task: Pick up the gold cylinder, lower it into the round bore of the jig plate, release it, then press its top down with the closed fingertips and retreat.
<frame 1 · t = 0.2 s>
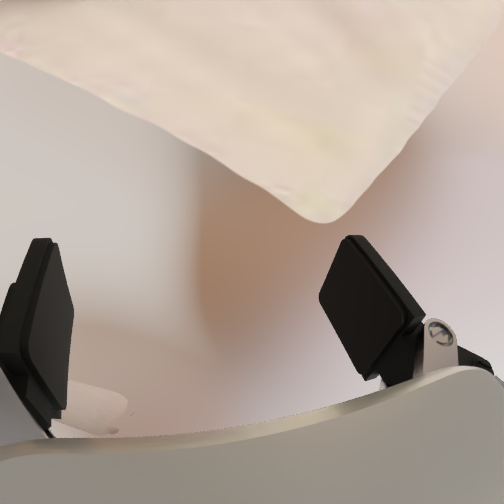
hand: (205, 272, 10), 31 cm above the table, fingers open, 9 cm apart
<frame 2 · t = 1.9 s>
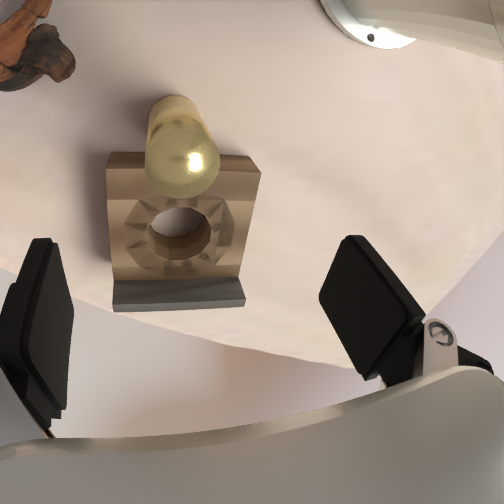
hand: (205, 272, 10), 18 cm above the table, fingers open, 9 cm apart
gold cylinder: (173, 118, 23), on the table
jig: (176, 213, 29), on the table
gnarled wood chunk: (32, 35, 15), on the table
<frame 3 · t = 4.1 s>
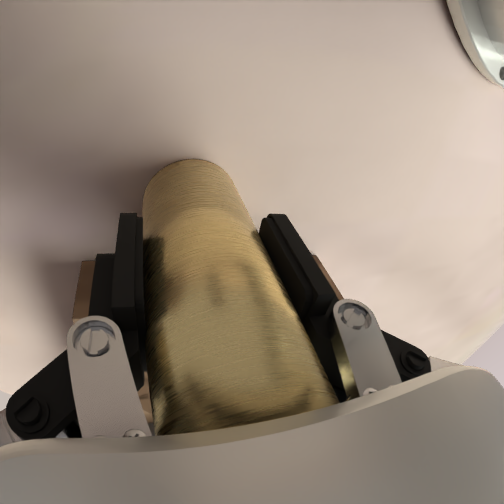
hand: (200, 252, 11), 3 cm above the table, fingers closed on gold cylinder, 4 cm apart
gold cylinder: (190, 203, 13), on the table, touching gripper
jig: (197, 335, 19), on the table
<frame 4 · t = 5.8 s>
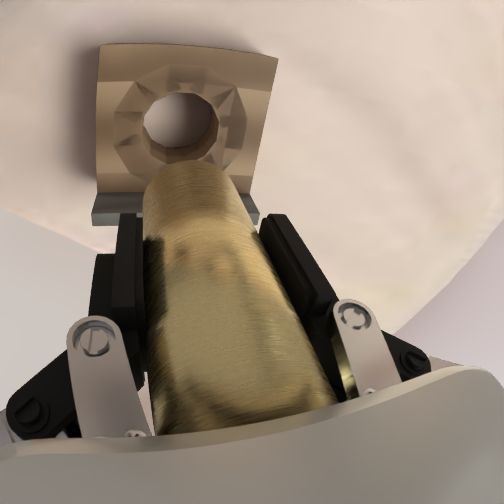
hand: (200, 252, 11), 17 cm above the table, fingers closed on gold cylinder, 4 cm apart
gold cylinder: (190, 204, 13), point 14 cm above the table, touching gripper
jig: (177, 117, 23), on the table
when the fingers open (4 cm above the table, at t = 7.8 s): gold cylinder stays where it is, resting in jig.
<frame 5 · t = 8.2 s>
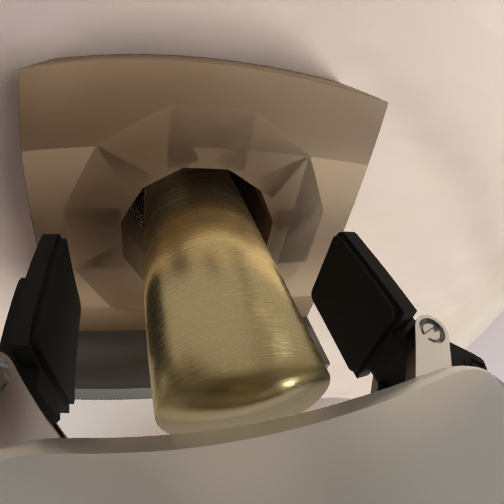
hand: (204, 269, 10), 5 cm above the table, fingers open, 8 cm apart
gold cylinder: (188, 192, 14), resting in jig
jig: (187, 192, 14), on the table
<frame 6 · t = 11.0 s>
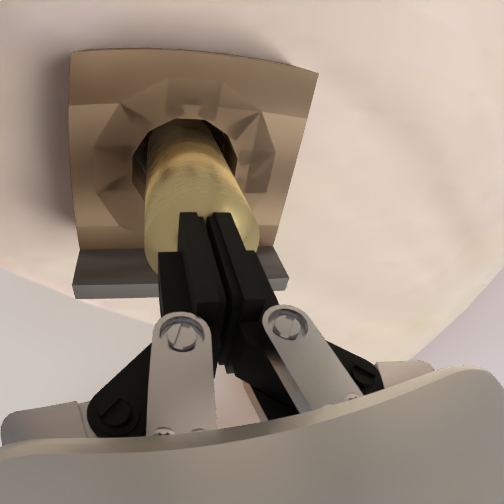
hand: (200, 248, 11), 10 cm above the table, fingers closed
gold cylinder: (180, 146, 18), resting in jig, touching gripper
jig: (179, 146, 18), on the table
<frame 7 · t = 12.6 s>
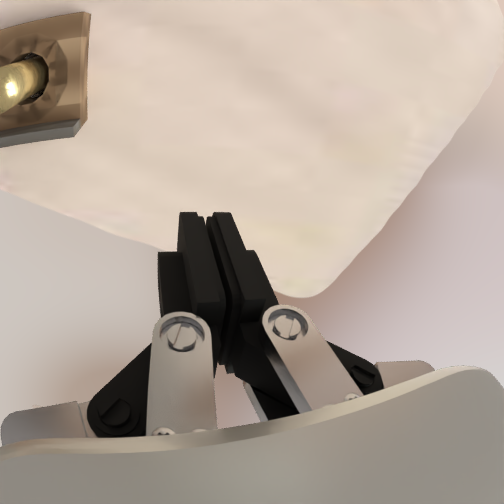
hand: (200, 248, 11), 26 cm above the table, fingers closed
gold cylinder: (37, 73, 23), resting in jig
jig: (37, 74, 23), on the table
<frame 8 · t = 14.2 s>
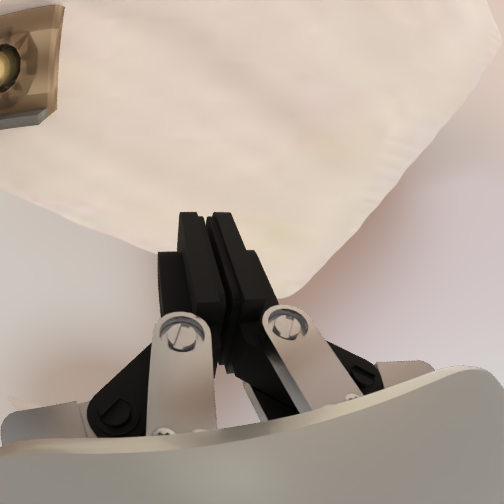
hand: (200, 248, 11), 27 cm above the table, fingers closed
gold cylinder: (12, 64, 22), resting in jig
jig: (12, 64, 22), on the table
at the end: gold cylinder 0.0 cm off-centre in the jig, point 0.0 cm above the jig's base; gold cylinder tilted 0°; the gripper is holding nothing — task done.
